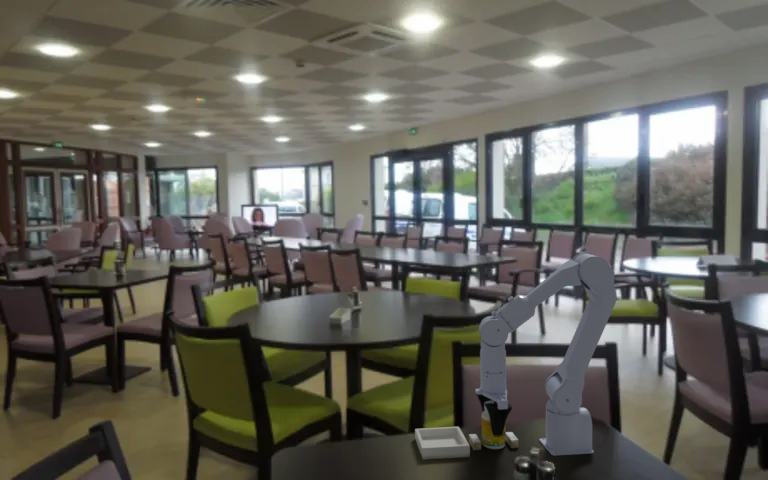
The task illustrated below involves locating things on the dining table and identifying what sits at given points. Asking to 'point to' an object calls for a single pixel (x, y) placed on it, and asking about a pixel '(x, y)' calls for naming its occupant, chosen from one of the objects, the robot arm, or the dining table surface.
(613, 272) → the robot arm
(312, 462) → the dining table surface
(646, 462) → the dining table surface
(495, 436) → the supplement bottle
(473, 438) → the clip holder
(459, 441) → the tray
